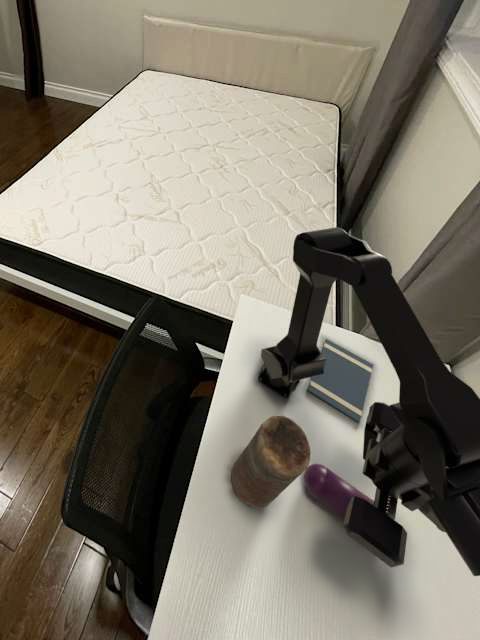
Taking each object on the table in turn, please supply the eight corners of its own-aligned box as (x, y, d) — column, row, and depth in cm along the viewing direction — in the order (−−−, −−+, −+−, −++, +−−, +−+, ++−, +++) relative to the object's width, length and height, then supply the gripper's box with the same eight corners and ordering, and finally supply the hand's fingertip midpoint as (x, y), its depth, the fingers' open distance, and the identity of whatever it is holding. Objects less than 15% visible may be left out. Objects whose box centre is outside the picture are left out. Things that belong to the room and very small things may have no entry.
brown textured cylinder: (276, 467, 65) (312, 425, 53) (274, 518, 60) (312, 485, 47) (233, 450, 67) (258, 406, 54) (227, 498, 62) (252, 461, 49)
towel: (306, 391, 75) (307, 389, 75) (325, 339, 84) (326, 338, 84) (358, 423, 71) (360, 422, 71) (372, 365, 80) (373, 364, 79)
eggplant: (296, 489, 63) (305, 481, 60) (305, 461, 66) (314, 452, 63) (391, 561, 56) (406, 556, 53) (396, 526, 59) (410, 520, 56)
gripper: (489, 604, 36) (412, 611, 46) (487, 432, 48) (427, 467, 58) (368, 517, 41) (322, 540, 51) (394, 380, 53) (352, 421, 63)
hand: (360, 489), depth 56 cm, fingers open, 9 cm apart
